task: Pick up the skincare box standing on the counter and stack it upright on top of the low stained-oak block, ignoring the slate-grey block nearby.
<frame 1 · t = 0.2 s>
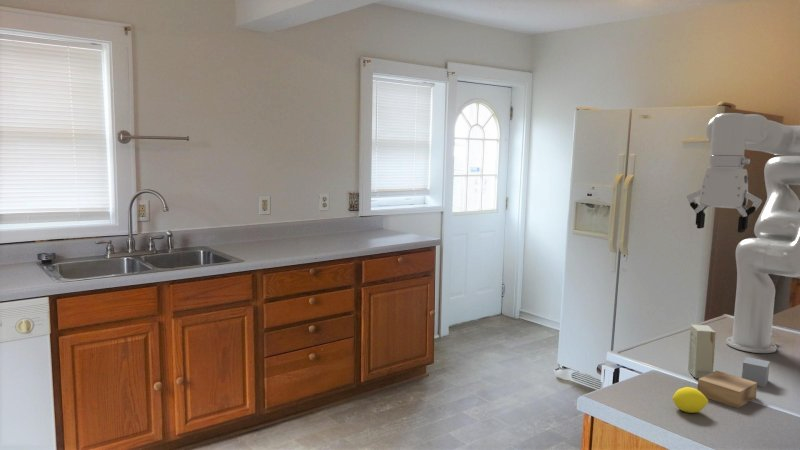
hand: (720, 230, 149), 36 cm above the worktop, tool pointing down, fingers open, 9 cm apart
skincare box: (699, 375, 147), on the worktop
oak block: (726, 397, 134), on the worktop
lemon: (689, 412, 126), on the worktop
grey block: (754, 381, 143), on the worktop
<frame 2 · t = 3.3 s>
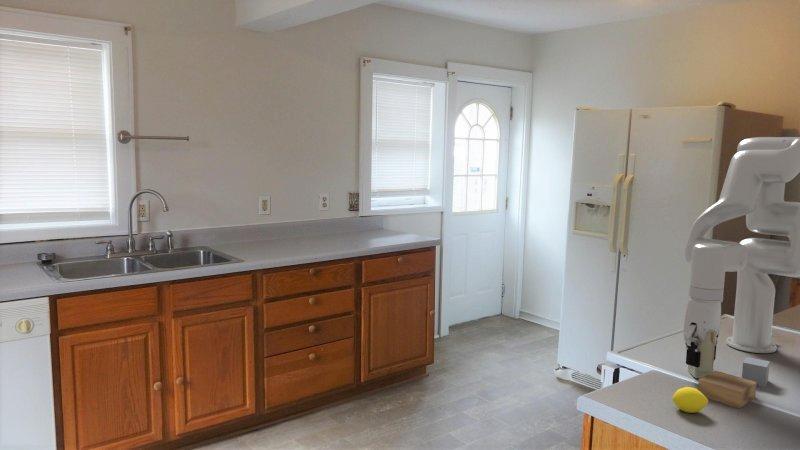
hand: (700, 361, 147), 3 cm above the worktop, tool pointing down, fingers closed on skincare box, 7 cm apart
skincare box: (699, 375, 147), on the worktop, touching gripper
everything else where it was.
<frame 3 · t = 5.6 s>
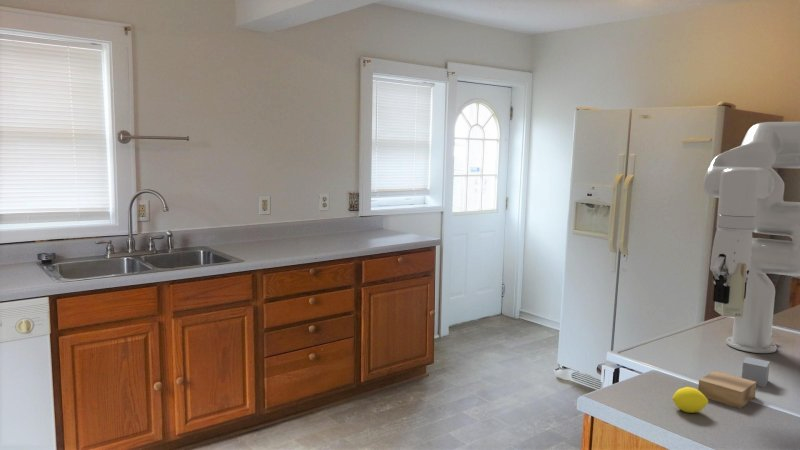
hand: (729, 299, 133), 22 cm above the worktop, tool pointing down, fingers closed on skincare box, 7 cm apart
skincare box: (727, 314, 134), point 19 cm above the worktop, touching gripper
everything else where it was.
when the fingers open (8 cm above the worktop, at t = 8.1 s): skincare box stays where it is, resting on oak block.
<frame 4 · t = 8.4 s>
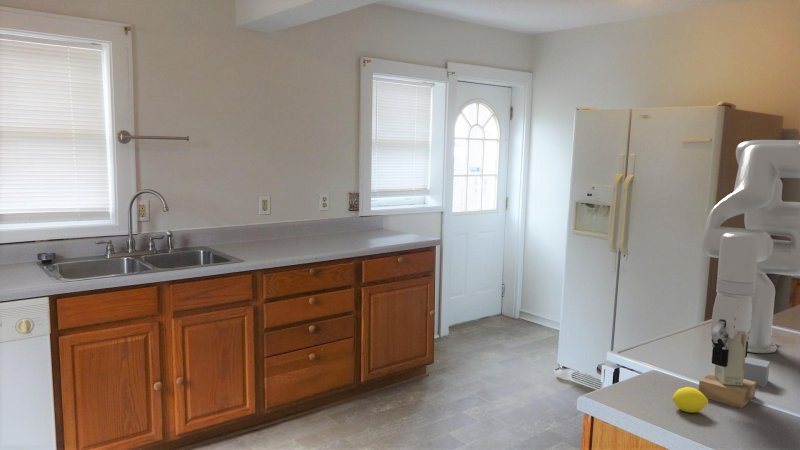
hand: (729, 360, 133), 8 cm above the worktop, tool pointing down, fingers open, 9 cm apart
skincare box: (727, 381, 134), point 3 cm above the worktop, touching oak block
oak block: (726, 397, 134), on the worktop, touching skincare box
everything else where it was.
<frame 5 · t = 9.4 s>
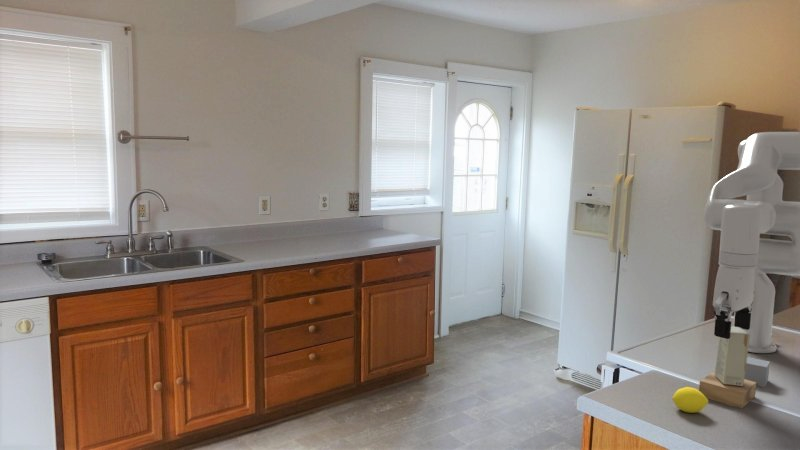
hand: (732, 332, 133), 15 cm above the worktop, tool pointing down, fingers open, 9 cm apart
nothing on the worktop moved.
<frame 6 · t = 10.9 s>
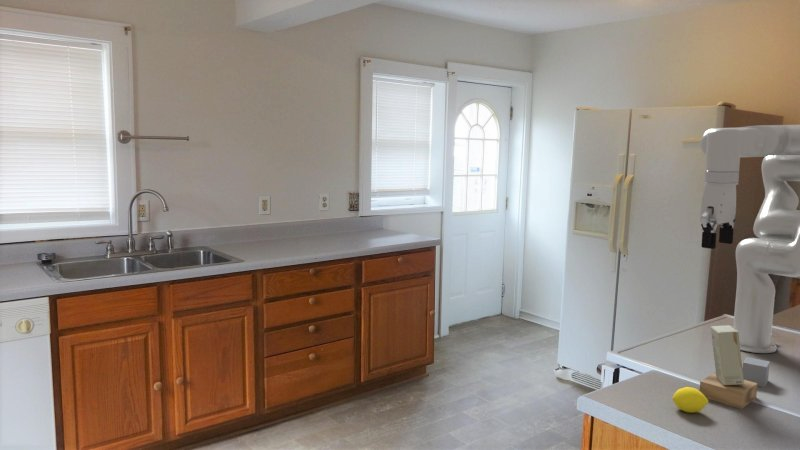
hand: (717, 245, 149), 32 cm above the worktop, tool pointing down, fingers open, 9 cm apart
skincare box: (729, 381, 134), point 4 cm above the worktop
oak block: (727, 398, 134), on the worktop
everything else where it was.
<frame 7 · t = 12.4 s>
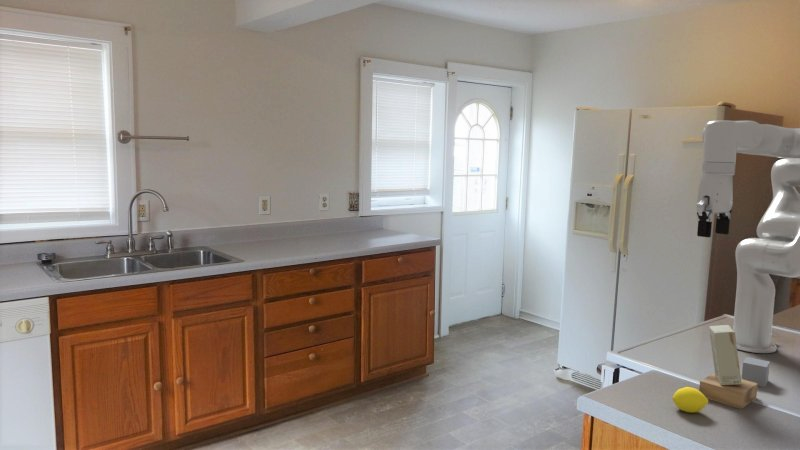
hand: (713, 235, 152), 34 cm above the worktop, tool pointing down, fingers open, 9 cm apart
skincare box: (728, 381, 134), point 4 cm above the worktop, touching oak block
oak block: (727, 398, 134), on the worktop, touching skincare box
everything else where it was.
at the end: skincare box inside the target area on the oak block (0.1 cm from its centre), point 4.2 cm above the oak block's base; skincare box tilted 9°; the gripper is holding nothing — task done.
